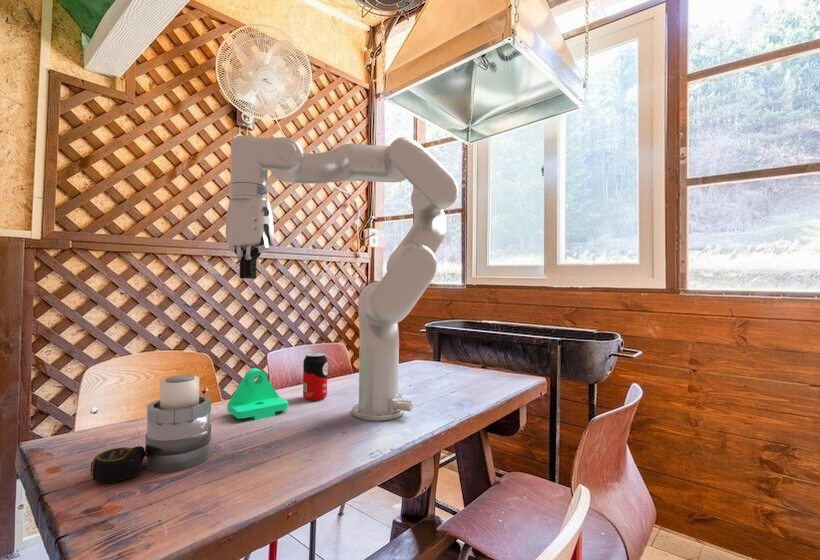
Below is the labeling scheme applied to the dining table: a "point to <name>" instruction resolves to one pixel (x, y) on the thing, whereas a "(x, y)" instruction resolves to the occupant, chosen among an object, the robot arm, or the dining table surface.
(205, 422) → the grey hollow cylinder
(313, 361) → the beverage can
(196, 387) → the cap
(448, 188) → the robot arm
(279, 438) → the dining table surface
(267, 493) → the dining table surface
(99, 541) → the dining table surface
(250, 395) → the camera mount
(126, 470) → the tape measure
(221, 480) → the dining table surface
